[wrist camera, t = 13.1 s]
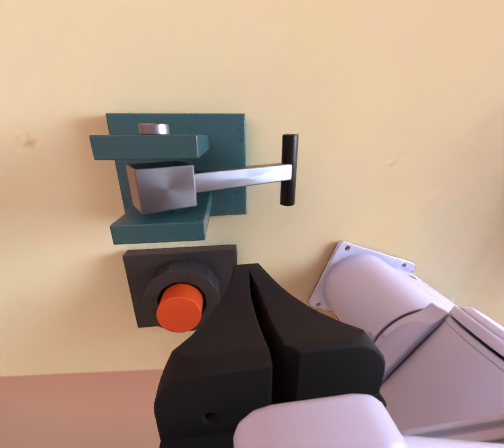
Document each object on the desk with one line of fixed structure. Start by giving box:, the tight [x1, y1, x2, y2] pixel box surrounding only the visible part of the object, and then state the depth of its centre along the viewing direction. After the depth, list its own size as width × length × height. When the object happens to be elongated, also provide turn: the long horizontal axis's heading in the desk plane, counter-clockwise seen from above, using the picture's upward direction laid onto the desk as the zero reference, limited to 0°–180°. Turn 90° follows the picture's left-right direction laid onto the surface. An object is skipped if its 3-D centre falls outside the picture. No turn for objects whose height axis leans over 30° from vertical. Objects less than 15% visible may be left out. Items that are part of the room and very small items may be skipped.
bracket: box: [89, 113, 246, 245], centre depth 16 cm, size 10×8×10 cm
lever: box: [126, 134, 298, 215], centre depth 15 cm, size 11×5×2 cm, turn 91°
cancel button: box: [156, 283, 203, 332], centre depth 21 cm, size 4×4×2 cm
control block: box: [123, 245, 237, 331], centre depth 23 cm, size 10×8×3 cm
